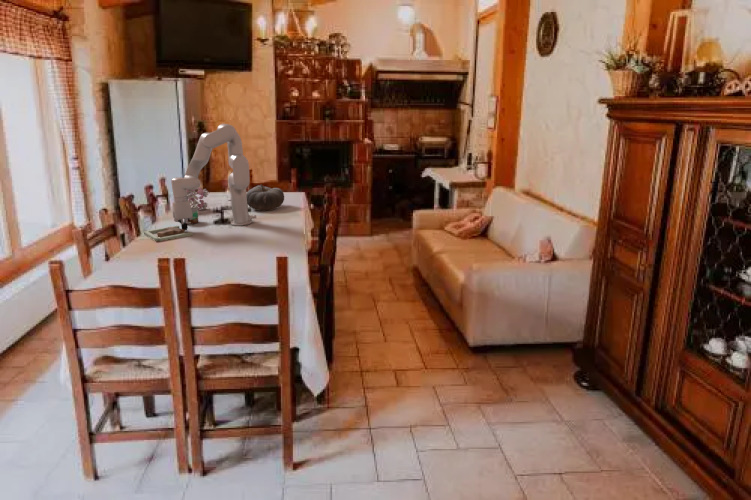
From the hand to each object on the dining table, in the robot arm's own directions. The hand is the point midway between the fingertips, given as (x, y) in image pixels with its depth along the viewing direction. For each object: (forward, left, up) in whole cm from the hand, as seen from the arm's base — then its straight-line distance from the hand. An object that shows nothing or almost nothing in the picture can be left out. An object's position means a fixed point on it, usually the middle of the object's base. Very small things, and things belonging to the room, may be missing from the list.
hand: (185, 230), depth 320 cm
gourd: (-64, -22, -1) cm, 68 cm away
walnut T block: (+10, +2, -1) cm, 10 cm away
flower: (-26, -52, -1) cm, 58 cm away
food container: (-12, -17, -1) cm, 21 cm away
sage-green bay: (+9, 0, -1) cm, 9 cm away
